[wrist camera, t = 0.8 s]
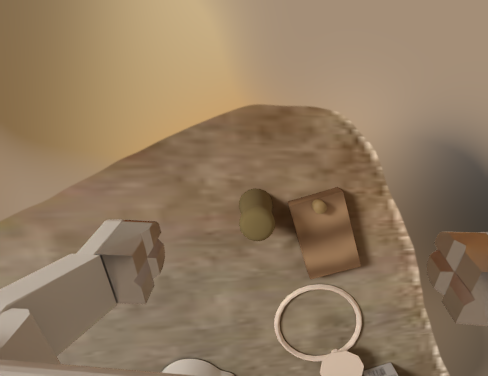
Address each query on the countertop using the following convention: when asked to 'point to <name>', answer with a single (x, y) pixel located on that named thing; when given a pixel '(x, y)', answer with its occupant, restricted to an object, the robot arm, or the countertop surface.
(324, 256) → the plane block
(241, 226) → the cork
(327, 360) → the hand towel holder
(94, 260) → the robot arm
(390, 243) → the countertop surface
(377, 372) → the coffee box
